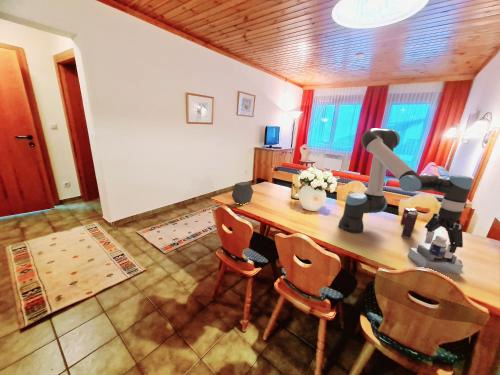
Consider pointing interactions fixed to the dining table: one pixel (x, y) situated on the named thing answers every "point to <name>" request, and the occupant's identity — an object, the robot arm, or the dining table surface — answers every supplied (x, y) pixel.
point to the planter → (242, 192)
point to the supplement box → (409, 224)
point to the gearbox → (435, 261)
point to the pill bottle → (438, 246)
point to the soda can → (405, 213)
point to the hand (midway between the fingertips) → (437, 250)
